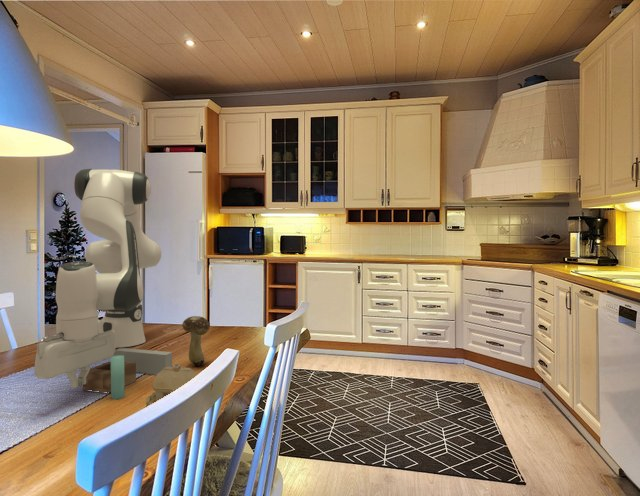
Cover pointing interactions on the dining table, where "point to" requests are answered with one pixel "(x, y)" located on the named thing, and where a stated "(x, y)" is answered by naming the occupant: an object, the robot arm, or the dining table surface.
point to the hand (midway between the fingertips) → (78, 385)
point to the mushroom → (196, 337)
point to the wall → (146, 359)
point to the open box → (108, 377)
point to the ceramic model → (169, 381)
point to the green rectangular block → (117, 377)
